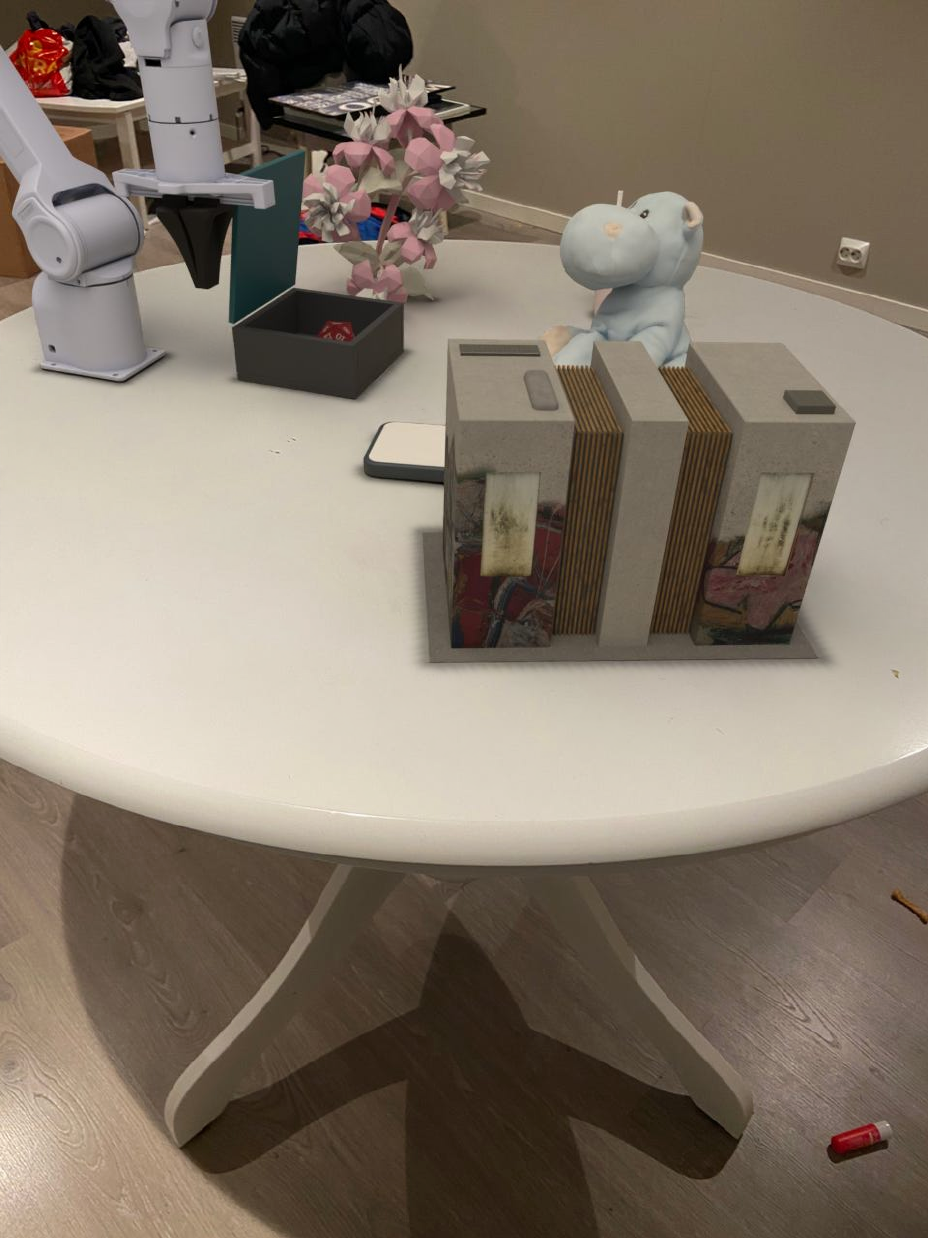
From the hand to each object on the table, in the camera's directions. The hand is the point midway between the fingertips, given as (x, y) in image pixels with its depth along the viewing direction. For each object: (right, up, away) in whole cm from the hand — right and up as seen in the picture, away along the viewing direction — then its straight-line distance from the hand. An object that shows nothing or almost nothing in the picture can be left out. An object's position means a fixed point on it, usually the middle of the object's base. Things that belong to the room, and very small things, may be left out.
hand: (207, 285), depth 87 cm
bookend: (+33, -28, -20) cm, 48 cm away
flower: (+14, +6, +26) cm, 30 cm away
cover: (+5, +7, +6) cm, 10 cm away
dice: (+11, -4, +11) cm, 16 cm away
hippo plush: (+40, -7, +10) cm, 42 cm away
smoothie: (+41, +6, +27) cm, 50 cm away
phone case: (+23, -17, -5) cm, 29 cm away
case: (+9, -4, +12) cm, 15 cm away
